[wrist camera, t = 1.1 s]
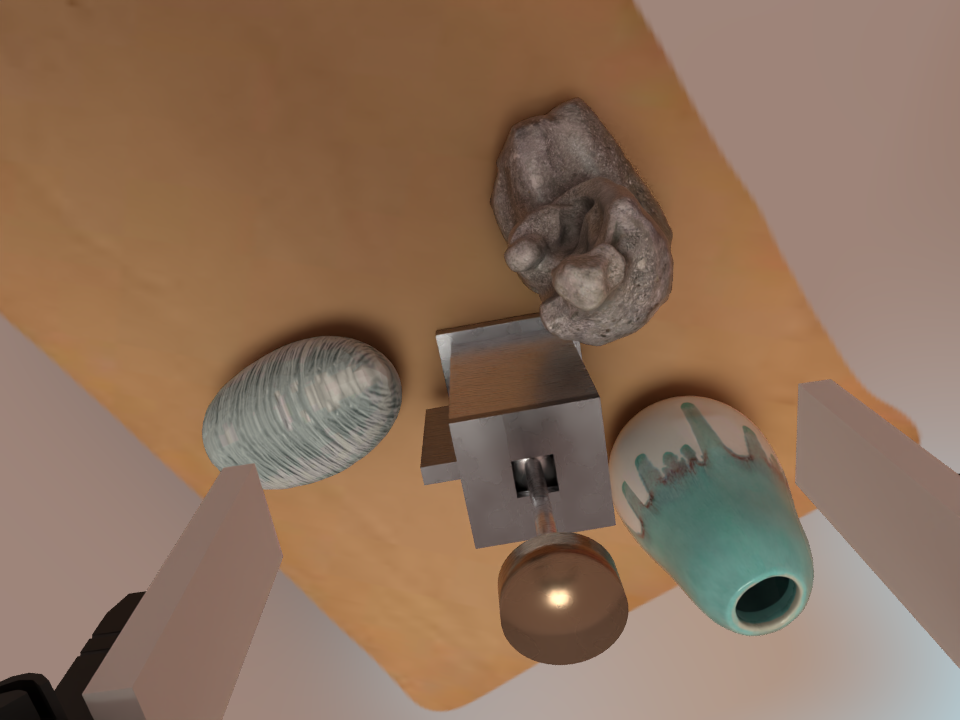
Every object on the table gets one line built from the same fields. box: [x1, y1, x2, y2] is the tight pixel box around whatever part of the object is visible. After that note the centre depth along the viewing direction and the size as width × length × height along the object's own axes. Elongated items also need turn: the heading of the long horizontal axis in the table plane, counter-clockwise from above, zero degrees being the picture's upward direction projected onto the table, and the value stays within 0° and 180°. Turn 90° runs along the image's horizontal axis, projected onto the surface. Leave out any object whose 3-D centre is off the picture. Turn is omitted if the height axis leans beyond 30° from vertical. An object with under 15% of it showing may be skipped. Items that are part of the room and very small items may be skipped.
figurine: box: [490, 98, 673, 346], centre depth 37 cm, size 13×12×18 cm
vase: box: [608, 396, 814, 636], centre depth 44 cm, size 12×12×18 cm
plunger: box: [498, 454, 628, 665], centre depth 33 cm, size 6×6×13 cm
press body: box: [420, 313, 616, 549], centre depth 44 cm, size 10×12×14 cm
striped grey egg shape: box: [202, 336, 402, 489], centre depth 46 cm, size 14×10×10 cm
